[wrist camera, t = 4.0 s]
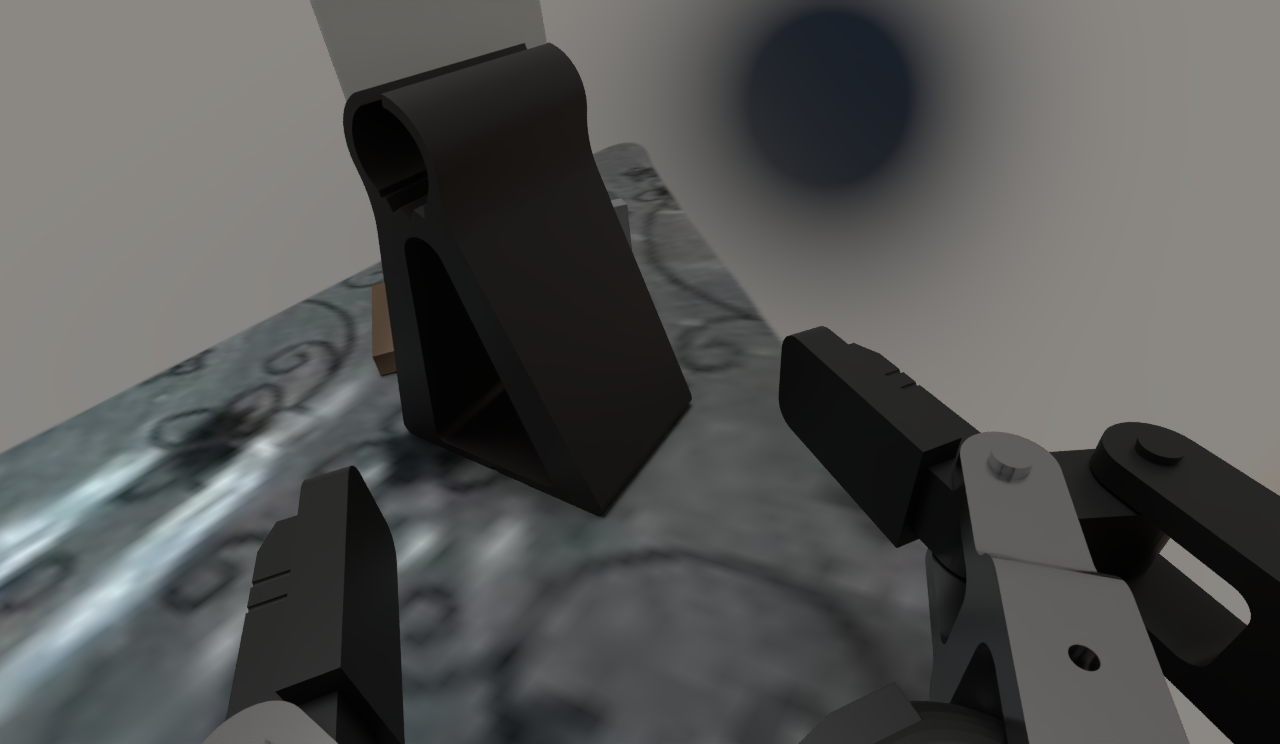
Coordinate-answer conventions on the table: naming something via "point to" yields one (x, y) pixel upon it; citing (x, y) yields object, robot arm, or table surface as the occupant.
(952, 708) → the robot arm
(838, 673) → the table surface
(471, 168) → the phone stand
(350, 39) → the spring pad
